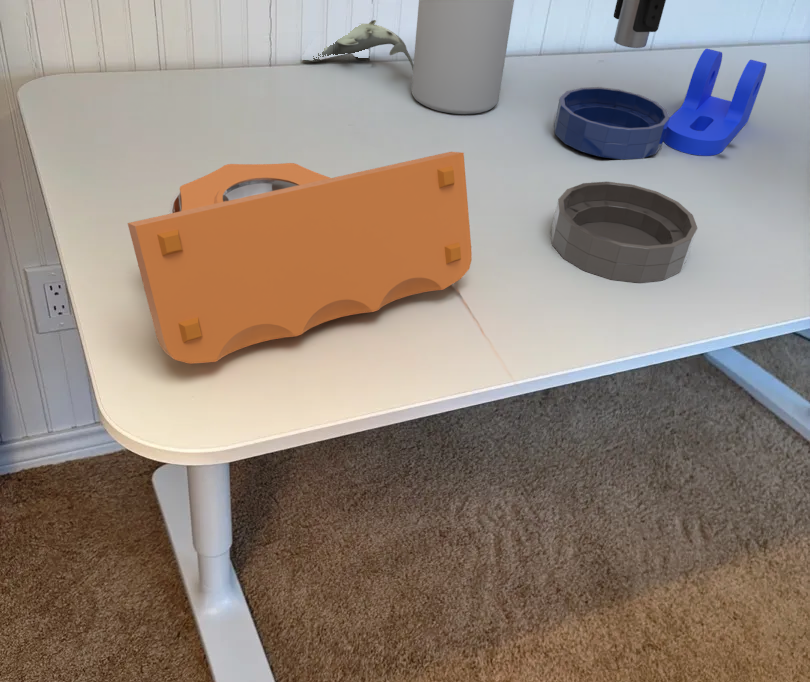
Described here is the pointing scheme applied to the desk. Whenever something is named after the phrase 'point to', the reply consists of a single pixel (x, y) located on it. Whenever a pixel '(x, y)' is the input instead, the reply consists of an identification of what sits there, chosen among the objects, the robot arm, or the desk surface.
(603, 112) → the blue bowl
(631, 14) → the shaker
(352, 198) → the desk clock
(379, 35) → the grey-green dolphin figure
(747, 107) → the bracket
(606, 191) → the grey bowl
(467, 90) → the cylinder vase
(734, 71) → the desk surface
